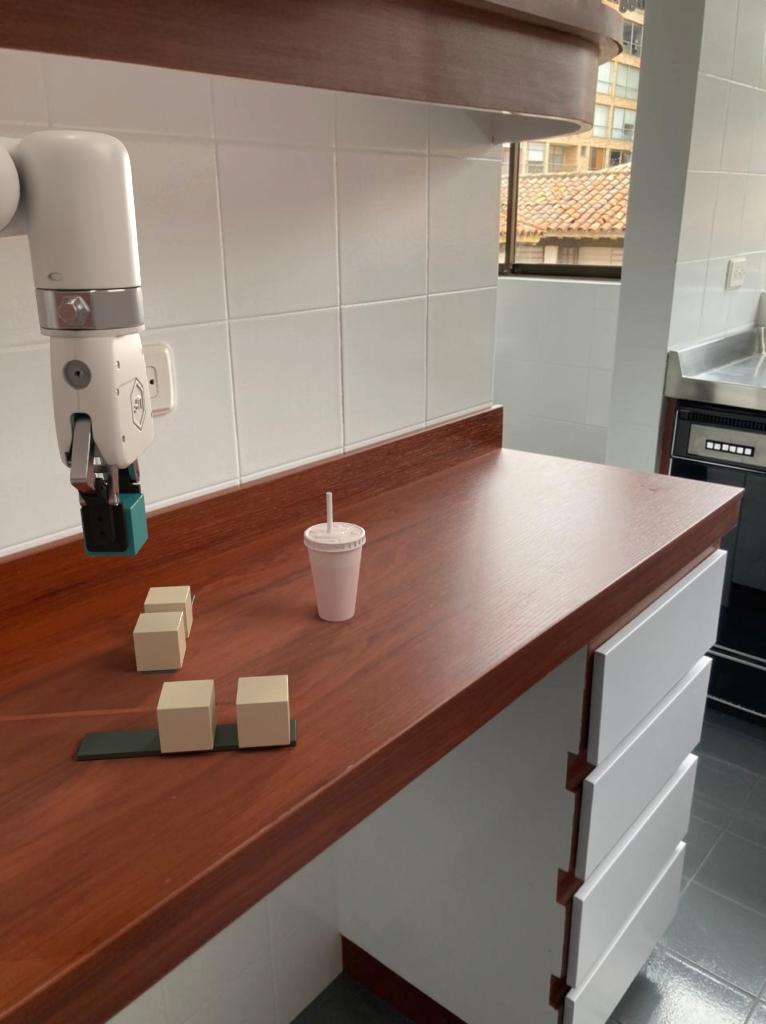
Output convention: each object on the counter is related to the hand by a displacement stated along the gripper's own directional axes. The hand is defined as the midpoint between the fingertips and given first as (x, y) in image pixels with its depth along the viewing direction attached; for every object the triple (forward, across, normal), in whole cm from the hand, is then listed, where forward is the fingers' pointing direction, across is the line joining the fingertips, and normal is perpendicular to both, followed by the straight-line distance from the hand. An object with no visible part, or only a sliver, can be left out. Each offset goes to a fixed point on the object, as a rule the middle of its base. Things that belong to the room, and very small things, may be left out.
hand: (116, 537), depth 67 cm
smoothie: (+15, +15, -17) cm, 28 cm away
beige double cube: (+15, +12, -1) cm, 19 cm away
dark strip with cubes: (+15, -7, -6) cm, 18 cm away
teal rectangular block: (+1, 0, 0) cm, 1 cm away
